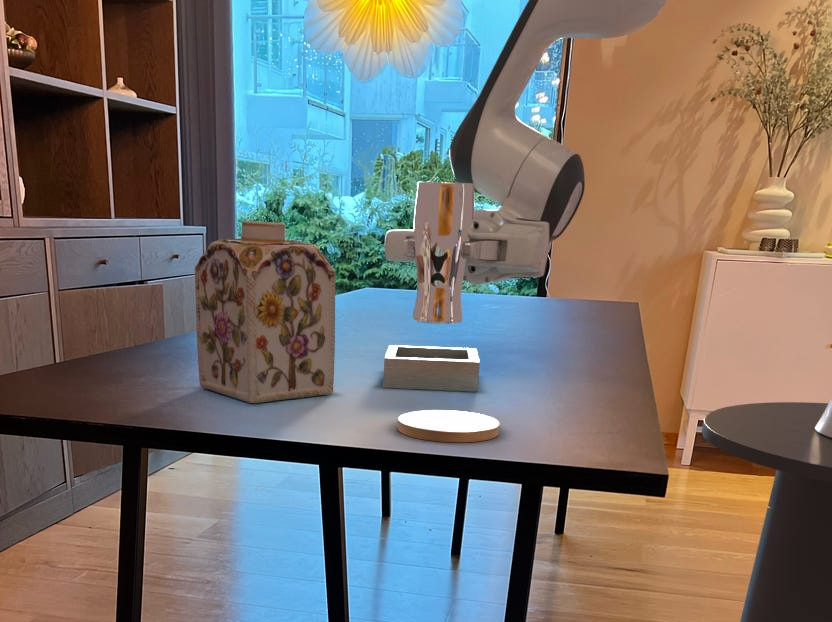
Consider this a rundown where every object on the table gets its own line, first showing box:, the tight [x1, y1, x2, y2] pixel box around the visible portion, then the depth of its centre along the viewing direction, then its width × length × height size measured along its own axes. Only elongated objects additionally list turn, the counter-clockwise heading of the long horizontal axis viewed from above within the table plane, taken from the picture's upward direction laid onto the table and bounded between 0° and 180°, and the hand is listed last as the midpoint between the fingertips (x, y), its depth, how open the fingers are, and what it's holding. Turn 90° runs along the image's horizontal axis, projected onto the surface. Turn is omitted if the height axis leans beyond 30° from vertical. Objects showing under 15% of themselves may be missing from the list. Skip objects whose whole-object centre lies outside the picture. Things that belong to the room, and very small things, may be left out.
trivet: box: [397, 409, 501, 443], centre depth 88 cm, size 10×10×1 cm
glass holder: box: [382, 344, 481, 393], centre depth 113 cm, size 11×11×4 cm
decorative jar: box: [194, 220, 337, 405], centre depth 100 cm, size 12×12×18 cm
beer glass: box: [412, 181, 475, 325], centre depth 106 cm, size 7×7×15 cm
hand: (438, 249), depth 105 cm, fingers closed on beer glass, 6 cm apart
